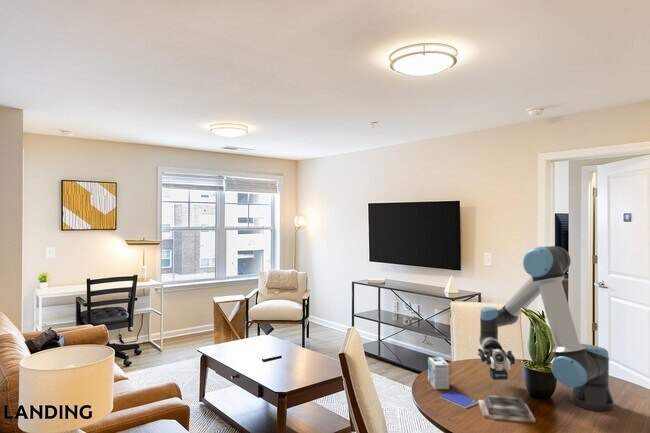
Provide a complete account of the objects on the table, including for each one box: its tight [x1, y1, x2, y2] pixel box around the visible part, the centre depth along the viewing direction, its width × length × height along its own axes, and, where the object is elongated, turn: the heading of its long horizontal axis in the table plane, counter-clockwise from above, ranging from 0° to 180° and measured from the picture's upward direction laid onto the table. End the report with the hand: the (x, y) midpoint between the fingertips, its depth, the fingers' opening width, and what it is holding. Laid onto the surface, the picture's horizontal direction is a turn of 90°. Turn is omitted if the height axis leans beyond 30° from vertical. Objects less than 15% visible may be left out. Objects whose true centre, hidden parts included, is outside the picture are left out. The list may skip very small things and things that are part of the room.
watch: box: [489, 349, 509, 381], centre depth 171 cm, size 6×8×11 cm
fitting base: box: [477, 394, 536, 423], centre depth 166 cm, size 18×14×4 cm
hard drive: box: [440, 391, 479, 409], centre depth 177 cm, size 2×8×12 cm
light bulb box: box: [427, 356, 450, 390], centre depth 194 cm, size 11×7×11 cm, turn 3°
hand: (501, 365), depth 166 cm, fingers closed on watch, 5 cm apart
